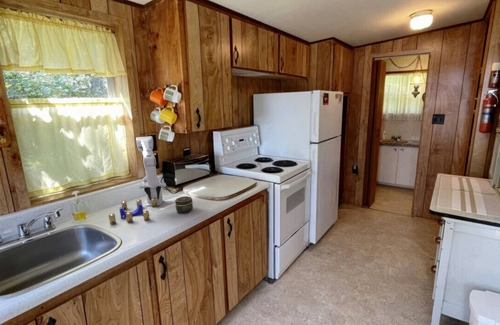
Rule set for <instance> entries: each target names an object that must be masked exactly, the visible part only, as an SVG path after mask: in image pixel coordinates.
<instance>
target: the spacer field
mask: <svg viewBox="0 0 500 325" xmlns="http://www.w3.org/2000/svg"><path fill="white" fill-rule="evenodd" d="M151 202H152V205H151V208H157V207H158V205H157V201H156V198H153V199H151ZM140 203H142V199H137V200H136V203H135V204H136V209H137V208H138V207H139V204H140ZM120 204H121V207H122V208H123V210H124V211H126V210H128V209H129V208H128V203H127V200H122V201H120ZM142 204H143V203H142ZM126 212H127V211H126ZM142 215H143V221H144V222H148V221H150V219H151V218H150V211H149V210H143V214H142ZM133 217H134V216H132V211H128V212H127V213H126V218H125V219H126V223H129V224H130V223H132V222H134V218H133ZM108 218H109V219H108V220H109V224H110V225H115V224H117V219H116V214H115V213H110V214H108Z"/></svg>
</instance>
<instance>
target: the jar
mask: <svg viewBox="0 0 500 325" xmlns="http://www.w3.org/2000/svg"><path fill="white" fill-rule="evenodd" d="M174 203H175V204H174V205H175V210H176V212H177V213H178V214H180V215H185V214H190V213H191V212H192V211H193V210H194V209H193V208H194V206H193V203H194V201H193V198H192V197H191V196H186V195H185V196H180V197H179V196H178V197H177V198H175V200H174Z"/></svg>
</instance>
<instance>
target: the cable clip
mask: <svg viewBox="0 0 500 325" xmlns="http://www.w3.org/2000/svg"><path fill="white" fill-rule="evenodd" d="M143 211H144V209H143V203H140V204H139V207H138V208H137V207H136V209H135V210H133V211H131V212H132V217H135V216H141V215H143ZM126 213H127V211H126V210H123V208H122V206H120V207H119V214H120V215H119V216H120V219H127V218H126Z"/></svg>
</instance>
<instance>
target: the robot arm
mask: <svg viewBox="0 0 500 325" xmlns="http://www.w3.org/2000/svg"><path fill="white" fill-rule="evenodd" d="M135 139H136V140H135V141H136V146H137V151H139V152H141V154H142V157H143V158H142V161H143V163H142V164H143V166H144V170H145V176H144V177H143V178H142V180H141V182H142V184H139V185H138V186H139V190H141V189H143V191H144V193H145V195H146V202H147V203H146V204H145V207H148V206H151V207H152V202H151V199H153V198H156V201H157V206H160V205H162V203H163V201H164V199H163V191H162V188H166V187H167V184H166V182H160V179H159V178H158V176H157V175H158V174H157V168H156V166H157V161H156V160H157V159H156V157H155V155H154V152H153V149H154V139H153V136H151V135H149V136H139V137H136V138H135Z"/></svg>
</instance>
